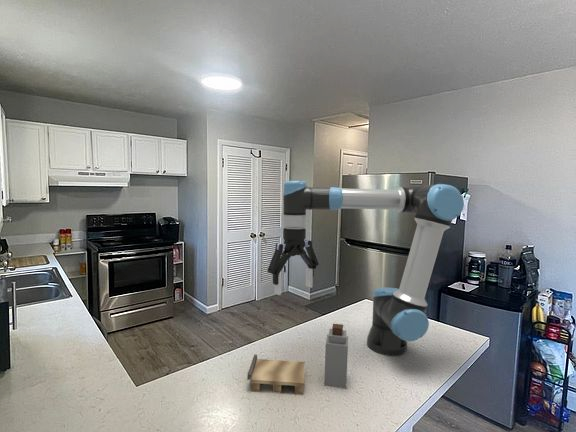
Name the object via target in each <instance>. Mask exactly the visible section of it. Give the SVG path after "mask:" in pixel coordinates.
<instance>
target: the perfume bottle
mask: <svg viewBox="0 0 576 432" xmlns="http://www.w3.org/2000/svg"><path fill="white" fill-rule="evenodd" d="M348 353H349V336H347V330H344V324H341V323H340V324H339V323H332V328H329V330H328V334H327V335H326V340H325V351H324V354H325V355H324V356H325V357H324V375H323V376H324V377H323V379H324V381H323V382H324V383H323V386H325V387H332V388H339V389H344V390H345V389H346V390H347V380H348V379H347V377H348Z"/></svg>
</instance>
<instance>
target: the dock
mask: <svg viewBox="0 0 576 432" xmlns="http://www.w3.org/2000/svg"><path fill="white" fill-rule="evenodd" d="M305 370H306V362H305V361H297V360H296V361H295V360H282V359H281V360H280V359H278V360H277V359H264V358H258V354H254V355H253V357H252V360H251V363H250V366H249V369H248V371H247V380H249V381H250V383H251V388H250V389H251V391H250V392H260V390H261V387H262V384H263V385H272V392H273V393H278V394H282V389H283V386H293V387H294V394H295V395H304V387H305Z"/></svg>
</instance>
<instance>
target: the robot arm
mask: <svg viewBox="0 0 576 432" xmlns="http://www.w3.org/2000/svg"><path fill="white" fill-rule="evenodd" d="M282 200H283V201H282V202H283V203H282V204H283V205H282V206H283V207H282V208H283V209H282V210H283V217H282V218H283V219H282V220H283V221H282V222H283V227H284V228H283V229H282V230H283V231H282V235H283V236H282V238H283V240H284V241H283V243H277V242H276V244H275V250H274V253H273V255H272V258H271V260H270V262H269V265H268V268H267V270H266V271H267V273H269V274H271V275H272V284H273V286H274V287H273V289H274V294H275V295H277V296H282V274H281V272H282V270H283V268H284V267H285V266H286V264H287V262H288V260H289V259H290V258H291V257H295V256H300V258H301V259H302V260H303V262H304V263H305V264H306V266H307V267H305V286H306V287H308V288H313V277H314V275H315V274H314V273H315V269H317V267H318V266H319V261H318V259H317V256H316V253H315V251H314V248H313V241H312V240H309V239H306V238H307V237H306V235H307V233H306V232H307V231H306V230H307V229H306V228H305V227H306V226H307V211H308V210H309V211H310V210H319V211H322V210H323V211H338V210H340V209H353V210H354V209H355V210H357V209H358V210H364V209H365V210H390V211H391V210H395V211H396V212H397V213H405V214H412V215H414V221H415V223H416V228H415V231H414V235H413V239H412V242H411V246H410V250H409V252H408V257H407V259H406V264H405V267H404V270H403V275H402V277H401V281H400V285H399V288H397V287H396V288H395V287H377V288H375V289H374V291H373V297H372V298H373V299H372V302H373V303H372V322H371V324H372V325H371V327H370V330H369V332H368V334H367V337H366V345H367V347H368V348H369V349H370V350H372V351H374V352H376V353H379V354H381V355H385V356H400V355H403V354H405V353H406V352H407V350H408V342H414V341H417V340H419V339H421V338H423V337H424V336H425V335H426V333H427V332H428V330H429V327H430V326H429V324H430V323H429V319H428V316H427V315H426V313H427V308H428V305H429V304H428V303H427V301H426V299H425V297H426V293H427V290H428V287H429V284H430V279H431V278H432V277H431V276H432V273H433V269H434V266H435V264H436V259H437V257H438V252H439V249H440V246H441V242H442V238H443V235H444V232H445V231H446V230H448V229H450V228H451V226H452V222H453V221H454V220H455V219H457V217H460V215H461V214H462V212H463V209H464V206H465V205H464V203H465V202H464V197H463V195H462V193H461V192H460V190H459V189H458V188H456V187H455V186H453V185H450V184H444V183H437V184H423V185H417V186H409V187H408V186H407V187H404V186H403V187H402V186H400V187H397V189H383V188H382V189H381V188H380V189H378V188H345V187H343V188H342V187H333V186H329V187H328V186H326V187H324V186H321V187H319V186H318V187H317V186H316V187H315V186H314V187H310V186H308V185H307V182H306V181H305V180H287V181H285V182H284V183H283V199H282Z"/></svg>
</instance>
